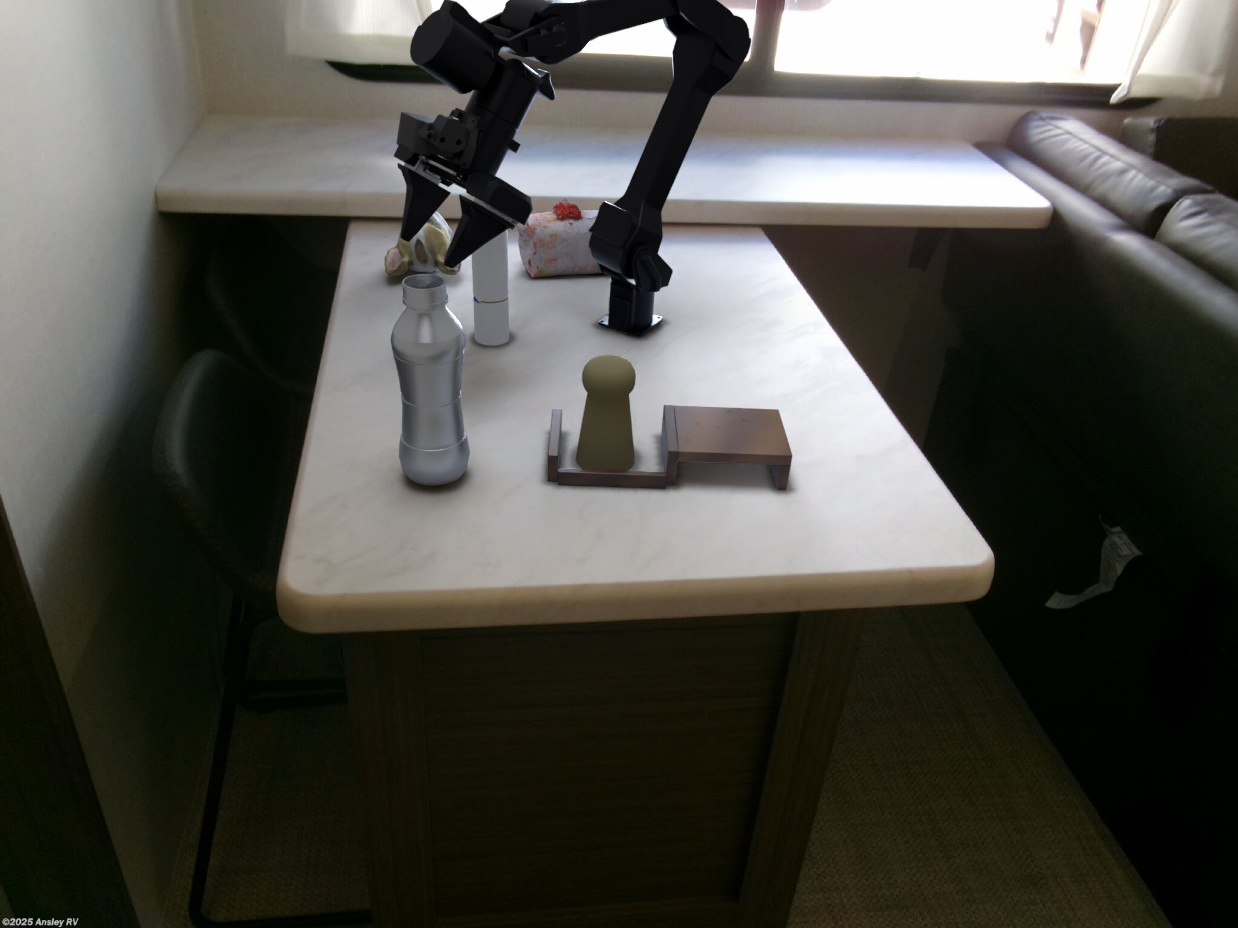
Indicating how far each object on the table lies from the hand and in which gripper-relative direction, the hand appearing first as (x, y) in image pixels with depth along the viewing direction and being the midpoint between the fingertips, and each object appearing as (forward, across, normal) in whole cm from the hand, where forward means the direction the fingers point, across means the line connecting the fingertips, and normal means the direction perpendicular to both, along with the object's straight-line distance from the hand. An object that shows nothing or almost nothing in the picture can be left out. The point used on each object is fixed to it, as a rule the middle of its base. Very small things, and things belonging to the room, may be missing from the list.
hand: (425, 253), depth 100 cm
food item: (-6, -20, +36) cm, 42 cm away
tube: (+6, -6, +18) cm, 20 cm away
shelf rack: (+6, +28, +18) cm, 34 cm away
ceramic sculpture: (+4, -31, +22) cm, 38 cm away
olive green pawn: (+9, +24, +14) cm, 29 cm away
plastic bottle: (+18, +17, +1) cm, 25 cm away
